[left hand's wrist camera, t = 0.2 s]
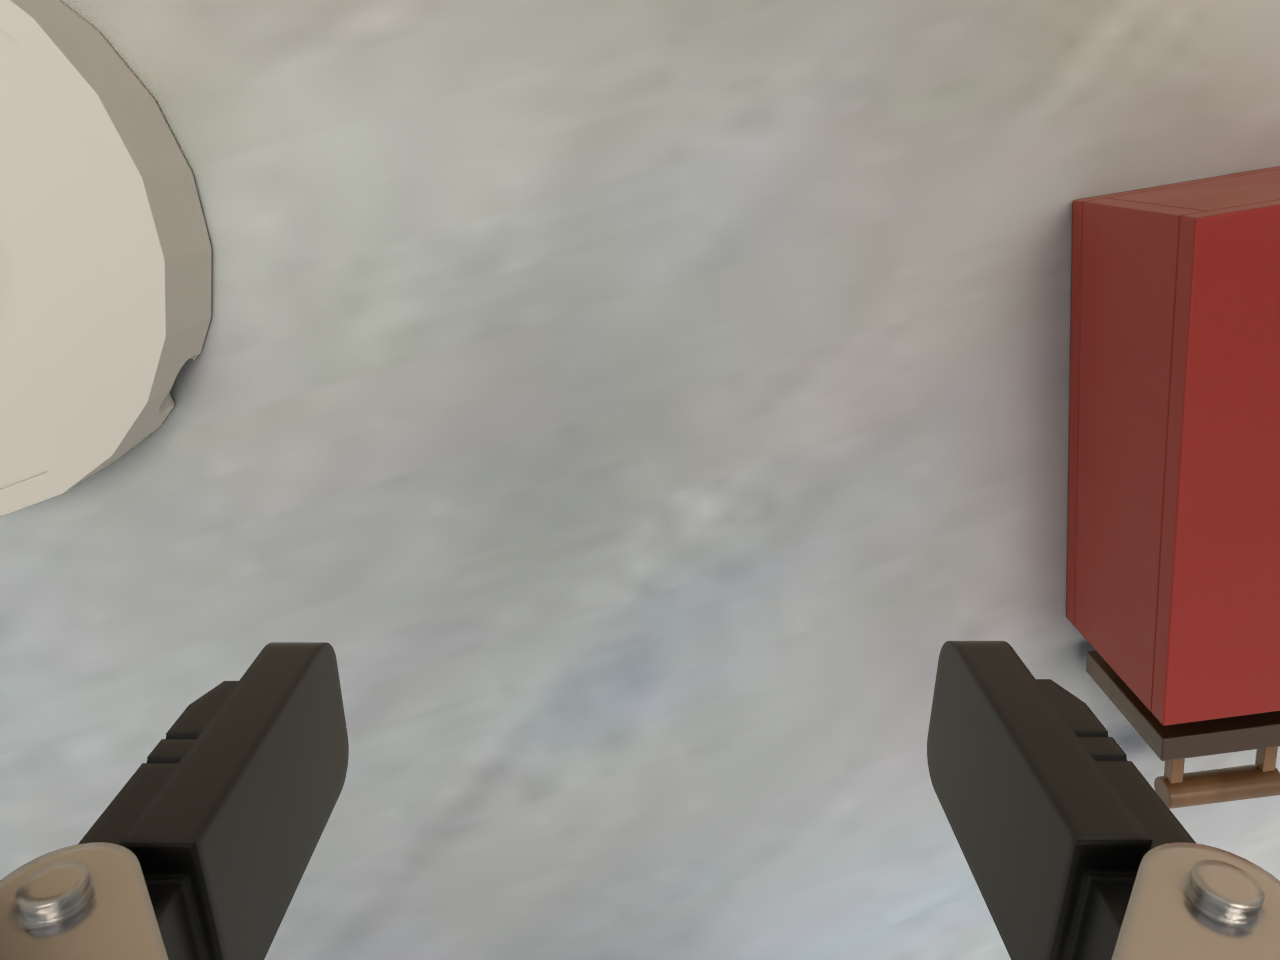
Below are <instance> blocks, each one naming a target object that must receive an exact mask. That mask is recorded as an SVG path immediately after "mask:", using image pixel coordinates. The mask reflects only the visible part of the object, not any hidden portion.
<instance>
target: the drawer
mask: <svg viewBox="0 0 1280 960" xmlns="http://www.w3.org/2000/svg"><path fill="white" fill-rule="evenodd" d="M1086 670H1087V672H1088V673H1089V675H1090V676H1091V677H1092V678H1093V679H1094V681H1095V682H1096V683H1097V684H1098V685H1099V687H1100V688H1101V689H1102V690H1103V691H1104V693H1105V694H1106V695H1107V696H1108V697H1109V699H1110V700H1111V701H1112V702H1113V703H1114V705H1115V706H1116V707H1117V708H1118V709H1119V710H1120V712H1121V713H1122V714H1123V715H1124V716H1125V718H1126V719H1127V720H1128V721H1129V722H1130V724H1131V725H1132V726H1133V727H1134V728H1135V730H1136V731H1137V732H1138V733H1139V734H1140V736H1141V737H1142V738H1143V739H1144V740H1145V742H1146V743H1147V744H1148V745H1149V746H1150V748H1151V749H1152V750H1153V751H1154V752H1155V753H1156V755H1157V756H1158V757H1159V758H1160V759H1161V760H1162V761H1165V770H1164V776H1160V777H1157V778H1156V779H1155V782H1154V786H1155V791H1156V793H1157V794H1158V796H1159V797H1160V798H1161V799H1162V801H1163V802H1164V803H1165V805H1166V806H1167V807H1168V808H1169V809H1171V808H1179V807H1187V806H1195V805H1203V804H1211V803H1219V802H1227V801H1235V800H1243V799H1251V798H1259V797H1267V796H1275V795H1280V773H1279V771H1278V770H1277V768H1276V767H1275V765H1276V757H1277V748H1278V746H1280V711H1273V712H1265V713H1258V714H1250V715H1242V716H1235V717H1227V718H1219V719H1211V720H1204V721H1196V722H1188V723H1181V724H1173V725H1162V724H1161V722H1160V721H1159V720H1158V719H1157V718H1156V717H1155V716H1154V715H1153V713H1152V712H1151V711H1150V710H1149V709H1148V708H1147V707H1146V706H1145V705H1144V704H1143V702H1142V701H1141V700H1140V699H1139V698H1138V697H1137V696H1136V695H1135V693H1134V692H1133V691H1132V690H1131V689H1130V688H1129V687H1128V686H1127V684H1126V683H1125V682H1124V681H1123V680H1122V679H1121V678H1120V677H1119V675H1118V674H1117V673H1116V672H1115V671H1114V670H1113V669H1112V668H1111V666H1110V665H1109V664H1108V663H1107V662H1106V661H1105V660H1104V659H1103V657H1102V656H1101V655H1100V654H1099V653H1098V652H1097V651H1096V650H1095V651H1088V652H1087V669H1086ZM1252 749H1257V753H1256V762H1255V765H1247V766H1239V767H1231V768H1223V769H1215V770H1207V771H1199V772H1191V773H1184V774H1183V771H1184V758H1190V757H1198V756H1205V755H1213V754H1221V753H1229V752H1237V751H1245V750H1252Z"/></svg>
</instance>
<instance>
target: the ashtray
mask: <svg viewBox="0 0 1280 960" xmlns="http://www.w3.org/2000/svg"><path fill="white" fill-rule="evenodd" d="M211 256H212V248H211V244H210V240H209V236H208V232H207V228H206V224H205V220H204V216H203V212H202V208H201V205H200V201H199V197H198V193H197V189H196V185H195V181H194V177H193V173H192V171H191V170H190V168H189V166H188V164H187V162H186V160H185V158H184V156H183V154H182V152H181V150H180V148H179V146H178V144H177V142H176V140H175V138H174V136H173V135H172V133H171V131H170V129H169V127H168V125H167V123H166V121H165V119H164V117H163V115H162V113H161V111H160V109H159V107H158V105H157V103H156V102H155V100H154V98H153V97H152V96H151V95H150V93H149V92H148V91H147V90H146V89H145V87H144V86H143V85H142V84H141V83H140V81H139V80H138V79H137V78H136V76H135V75H134V74H133V73H132V72H131V70H130V69H129V68H128V67H127V66H126V64H125V63H124V62H123V61H122V59H121V58H120V57H119V56H118V55H117V53H116V52H115V51H114V50H113V48H112V47H111V46H110V45H109V44H108V42H107V41H106V40H105V39H104V38H103V36H102V35H101V34H100V33H99V31H97V30H96V29H95V28H94V27H92V26H91V25H90V24H89V23H87V22H86V21H85V20H84V19H82V18H81V17H80V16H79V15H77V14H76V13H75V12H73V11H72V10H71V9H70V8H68V7H67V6H66V5H65V4H63V3H62V2H61V1H60V0H0V516H3V515H6V514H8V513H11V512H14V511H17V510H19V509H22V508H25V507H28V506H30V505H33V504H36V503H38V502H41V501H44V500H47V499H49V498H52V497H55V496H58V495H60V494H63V493H65V492H66V491H68V490H69V489H71V488H73V487H74V486H76V485H78V484H79V483H81V482H83V481H84V480H86V479H87V478H89V477H91V476H92V475H94V474H96V473H97V472H99V471H100V470H102V469H104V468H105V467H107V466H109V465H110V464H112V463H113V462H115V461H116V460H118V459H119V458H120V457H122V456H123V455H124V454H125V453H127V452H128V451H129V450H131V449H132V448H133V447H134V446H136V445H137V444H138V443H140V442H141V441H142V440H144V439H145V438H146V437H147V436H149V435H150V434H151V433H153V432H154V431H155V430H157V429H158V428H159V427H160V426H161V425H162V424H163V422H164V421H165V419H166V418H167V416H168V415H169V413H170V412H171V410H172V409H173V407H174V406H175V404H174V402H173V400H172V397H171V395H170V393H169V392H170V390H171V388H172V386H173V383H174V381H175V379H176V377H177V375H178V373H179V371H180V369H181V368H182V366H183V365H184V363H185V362H186V361H187V360H188V359H190V358H192V359H193V360H195V358H196V357H197V356H198V355H199V354H200V353H201V351H202V347H203V344H204V340H205V337H206V334H207V330H208V327H209V323H210V320H211Z"/></svg>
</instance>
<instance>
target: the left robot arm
mask: <svg viewBox="0 0 1280 960" xmlns="http://www.w3.org/2000/svg"><path fill="white" fill-rule="evenodd" d="M348 751H349V749H348V736H347V729H346V722H345V715H344V708H343V701H342V695H341V688H340V681H339V674H338V667H337V660H336V655H335V652H334V649H333V647H332V646H331V645H330V644H329V643H269V644H268V645H266V646H265V647H264V648H263V650H262V651H261V652H260V654H259V655H258V656H257V658H256V659H255V660H254V662H253V663H252V665H251V666H250V667H249V669H248V670H247V671H246V673H245V674H244V675H243V677H242V678H241V679H240V681H224V682H222V683H221V684H219V685H218V686H217V687H215V688H214V689H212V690H211V691H209V692H208V693H206V694H205V695H203V696H202V697H200V698H199V699H197V700H196V701H195V702H193V703H192V704H190V705H189V706H188V707H187V708H186V710H185V711H184V712H183V713H182V715H181V716H180V717H179V718H178V720H177V721H176V722H175V723H174V725H173V726H172V727H171V728H170V730H169V731H168V732H167V733H166V739H162V740H161V741H160V742H159V743H158V745H157V746H156V747H155V748H154V750H153V751H152V752H151V753H150V755H149V756H148V757H147V758H148V760H147V763H142V765H141V766H140V767H139V768H138V770H137V771H136V772H135V774H134V775H133V776H132V777H131V779H130V780H129V781H128V782H127V784H126V785H125V786H124V787H123V789H122V790H121V791H120V792H119V794H118V795H117V796H116V797H115V799H114V800H113V801H112V802H111V804H110V805H109V806H108V807H107V809H106V810H105V811H104V812H103V814H102V815H101V816H100V817H99V819H98V820H97V821H96V822H95V824H94V825H93V826H92V827H91V829H90V830H89V831H88V832H87V834H86V835H85V836H84V837H83V839H82V840H81V841H80V842H79V844H78V845H73V846H69V847H65V848H62V849H59V850H56V851H53V852H50V853H48V854H45V855H43V856H41V857H38V858H36V859H34V860H32V861H30V862H28V863H27V864H25V865H23V866H21V867H19V868H18V869H16V870H15V871H13V872H12V873H10V874H9V875H7V876H6V877H5V878H4V879H2V880H1V881H0V960H264V959H265V956H266V954H267V952H268V950H269V948H270V945H271V943H272V941H273V939H274V937H275V935H276V932H277V930H278V928H279V926H280V924H281V922H282V919H283V917H284V915H285V913H286V911H287V908H288V906H289V904H290V902H291V900H292V898H293V895H294V893H295V891H296V889H297V887H298V884H299V882H300V880H301V878H302V876H303V874H304V871H305V869H306V867H307V865H308V863H309V860H310V858H311V856H312V854H313V852H314V850H315V847H316V845H317V843H318V841H319V839H320V836H321V834H322V832H323V830H324V828H325V826H326V823H327V821H328V819H329V817H330V815H331V813H332V810H333V808H334V806H335V804H336V802H337V799H338V797H339V795H340V793H341V790H342V788H343V785H344V781H345V777H346V772H347V766H348ZM927 757H928V767H929V772H930V777H931V781H932V784H933V787H934V790H935V792H936V794H937V796H938V799H939V801H940V803H941V805H942V808H943V810H944V812H945V814H946V816H947V819H948V821H949V823H950V825H951V827H952V830H953V832H954V834H955V836H956V838H957V841H958V843H959V845H960V847H961V849H962V852H963V854H964V856H965V858H966V860H967V863H968V865H969V867H970V869H971V872H972V874H973V876H974V878H975V880H976V883H977V885H978V887H979V889H980V891H981V894H982V896H983V898H984V900H985V902H986V905H987V907H988V909H989V911H990V913H991V916H992V918H993V920H994V922H995V924H996V927H997V929H998V931H999V933H1000V936H1001V938H1002V940H1003V942H1004V944H1005V947H1006V949H1007V951H1008V953H1009V955H1010V958H1011V960H1280V881H1279V880H1278V879H1276V878H1275V877H1274V876H1273V875H1271V874H1270V873H1268V872H1267V871H1265V870H1264V869H1262V868H1261V867H1259V866H1257V865H1255V864H1253V863H1252V862H1250V861H1248V860H1246V859H1244V858H1242V857H1239V856H1237V855H1235V854H1232V853H1230V852H1227V851H1224V850H1221V849H1218V848H1215V847H1211V846H1207V845H1202V844H1196V842H1195V841H1194V840H1193V839H1192V837H1191V836H1190V835H1189V834H1188V832H1187V831H1186V830H1185V829H1184V827H1183V826H1182V825H1181V824H1180V822H1179V821H1178V820H1177V818H1176V817H1175V816H1174V815H1173V813H1172V812H1171V811H1170V810H1169V808H1168V807H1167V806H1166V805H1165V803H1164V802H1163V801H1162V799H1161V798H1160V797H1159V796H1158V794H1157V793H1156V792H1155V791H1154V789H1153V788H1152V787H1151V786H1150V784H1149V783H1148V782H1147V781H1146V779H1145V778H1144V777H1143V775H1142V774H1141V773H1140V772H1139V770H1138V769H1137V768H1136V767H1135V765H1134V764H1133V763H1132V762H1131V761H1127V759H1126V754H1125V753H1124V751H1123V750H1122V749H1121V748H1120V746H1119V745H1118V744H1117V743H1116V741H1115V740H1114V739H1113V738H1112V737H1108V731H1107V730H1106V729H1105V727H1104V726H1103V725H1102V724H1101V722H1100V721H1099V720H1098V719H1097V717H1096V716H1095V715H1094V713H1093V712H1092V711H1091V710H1090V708H1089V707H1088V706H1087V705H1086V703H1084V702H1083V701H1081V700H1080V699H1078V698H1077V697H1075V696H1074V695H1072V694H1071V693H1069V692H1068V691H1067V690H1065V689H1064V688H1062V687H1061V686H1059V685H1058V684H1056V683H1055V682H1053V681H1052V680H1051V679H1035V678H1034V677H1033V675H1032V674H1031V673H1030V671H1029V670H1028V669H1027V667H1026V666H1025V665H1024V663H1023V662H1022V660H1021V659H1020V658H1019V656H1018V655H1017V654H1016V652H1015V651H1014V650H1013V648H1012V647H1011V646H1010V645H1009V644H1008V643H1007V642H1005V641H947V642H946V643H944V645H943V647H942V649H941V652H940V656H939V662H938V669H937V676H936V683H935V690H934V697H933V704H932V711H931V718H930V725H929V732H928V740H927Z"/></svg>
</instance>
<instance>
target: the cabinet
mask: <svg viewBox="0 0 1280 960" xmlns="http://www.w3.org/2000/svg"><path fill="white" fill-rule="evenodd" d="M1066 616H1067V618H1068V619H1069V620H1070V621H1071V622H1072V624H1073V625H1074V626H1075V627H1076V628H1077V629H1078V631H1079V632H1080V633H1081V634H1082V635H1083V636H1084V637H1085V638H1086V639H1087V641H1088V642H1089V643H1090V644H1091V645H1092V646H1093V647H1094V648H1095V650H1096V651H1097V652H1098V653H1099V654H1100V655H1101V656H1102V657H1103V659H1104V660H1105V661H1106V662H1107V663H1108V664H1109V665H1110V666H1111V668H1112V669H1113V670H1114V671H1115V672H1116V673H1117V674H1118V675H1119V677H1120V678H1121V679H1122V680H1123V681H1124V682H1125V683H1126V684H1127V686H1128V687H1129V688H1130V689H1131V690H1132V691H1133V692H1134V693H1135V695H1136V696H1137V697H1138V698H1139V699H1140V700H1141V701H1142V702H1143V704H1144V705H1145V706H1146V707H1147V708H1148V709H1149V710H1150V711H1151V712H1152V713H1153V715H1154V716H1155V717H1156V718H1157V719H1158V720H1159V721H1160V722H1161V724H1162V725H1173V724H1181V723H1188V722H1196V721H1204V720H1211V719H1219V718H1227V717H1235V716H1242V715H1250V714H1258V713H1265V712H1273V711H1280V166H1278V167H1272V168H1266V169H1260V170H1254V171H1248V172H1242V173H1236V174H1229V175H1223V176H1217V177H1211V178H1205V179H1199V180H1193V181H1187V182H1181V183H1175V184H1169V185H1163V186H1157V187H1151V188H1144V189H1138V190H1132V191H1126V192H1120V193H1114V194H1108V195H1102V196H1096V197H1090V198H1084V199H1078V200H1074V201H1073V227H1072V292H1071V356H1070V420H1069V484H1068V548H1067V613H1066Z"/></svg>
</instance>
